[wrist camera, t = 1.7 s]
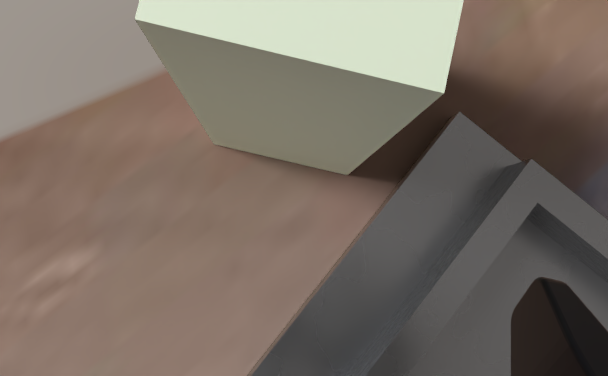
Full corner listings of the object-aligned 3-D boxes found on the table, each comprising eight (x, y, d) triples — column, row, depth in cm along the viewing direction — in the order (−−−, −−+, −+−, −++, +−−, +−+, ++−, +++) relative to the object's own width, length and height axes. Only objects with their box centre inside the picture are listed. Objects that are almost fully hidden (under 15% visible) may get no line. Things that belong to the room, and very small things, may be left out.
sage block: (347, 175, 21) (444, 93, 9) (213, 144, 21) (134, 19, 9) (375, 46, 22) (503, -192, 10) (245, 14, 21) (210, -268, 9)
